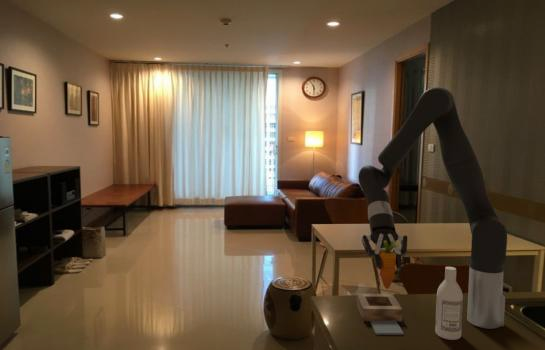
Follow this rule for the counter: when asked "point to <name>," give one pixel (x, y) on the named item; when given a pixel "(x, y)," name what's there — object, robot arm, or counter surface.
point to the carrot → (387, 264)
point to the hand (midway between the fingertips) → (389, 267)
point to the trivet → (386, 327)
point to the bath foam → (449, 307)
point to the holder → (379, 307)
